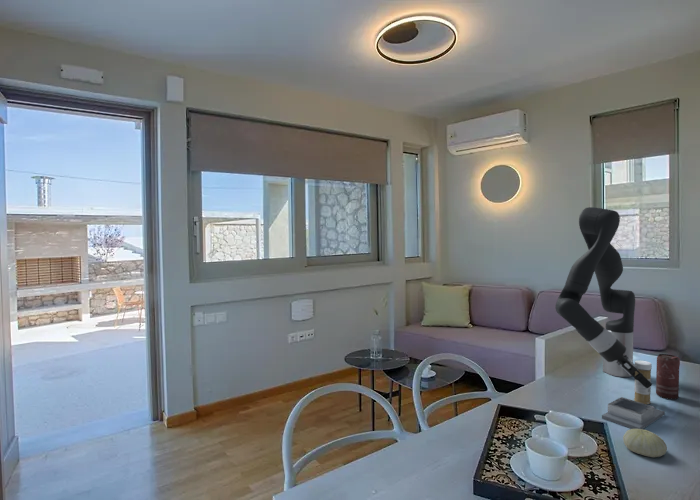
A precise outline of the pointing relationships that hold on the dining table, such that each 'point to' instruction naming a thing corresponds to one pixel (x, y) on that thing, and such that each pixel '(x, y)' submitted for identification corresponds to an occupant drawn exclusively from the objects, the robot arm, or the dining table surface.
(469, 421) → the dining table surface
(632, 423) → the slate board
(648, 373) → the sprinkles bottle
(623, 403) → the collar
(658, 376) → the can
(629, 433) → the sea urchin shell
